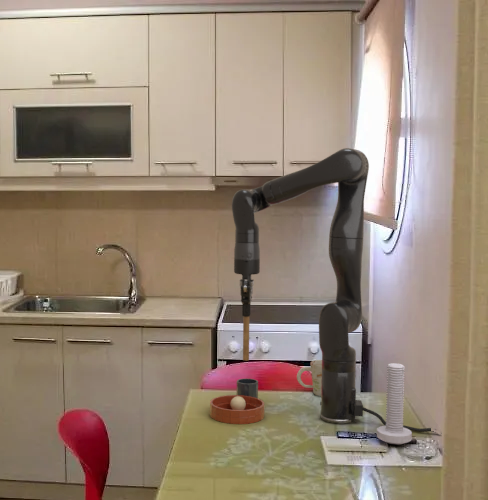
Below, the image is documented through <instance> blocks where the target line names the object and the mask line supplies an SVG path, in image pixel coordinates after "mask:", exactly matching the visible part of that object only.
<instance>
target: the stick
mask: <svg viewBox="0 0 488 500" xmlns="http://www.w3.org/2000/svg"><path fill="white" fill-rule="evenodd" d="M242 317H243V318H242V321H243V322H242V329H243V330H242V361H244V362H245V361H246V362H247V361H250V316H249V317H244V316H242Z"/></svg>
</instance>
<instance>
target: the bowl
mask: <svg viewBox="0 0 488 500" xmlns="http://www.w3.org/2000/svg"><path fill="white" fill-rule="evenodd" d="M236 396H240V397H242V398H243V399H244V400H245V402H246V406H245V409H244V410H233V409H232V408H231V400H232V399H233V398H234V397H236ZM209 416H210V418H211V419H213V420H215V421H218V422H220V423H225V424H230V425H246V424H254V423H257V422H261V421H262V420H264V419H265V401H264V400H263V399H260V398H259V397H258V398H255V397H251V396H245V395H237V394H226V395H220V396H216V397H213V398H212V399H210V401H209Z"/></svg>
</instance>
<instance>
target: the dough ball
mask: <svg viewBox="0 0 488 500" xmlns="http://www.w3.org/2000/svg"><path fill="white" fill-rule="evenodd" d="M245 406H246V402H245V400H244V399H243V398H242V397H240V396H236V397H234V398H233V399H232V400H231V408H232V409H233V410H244V409H245Z"/></svg>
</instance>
